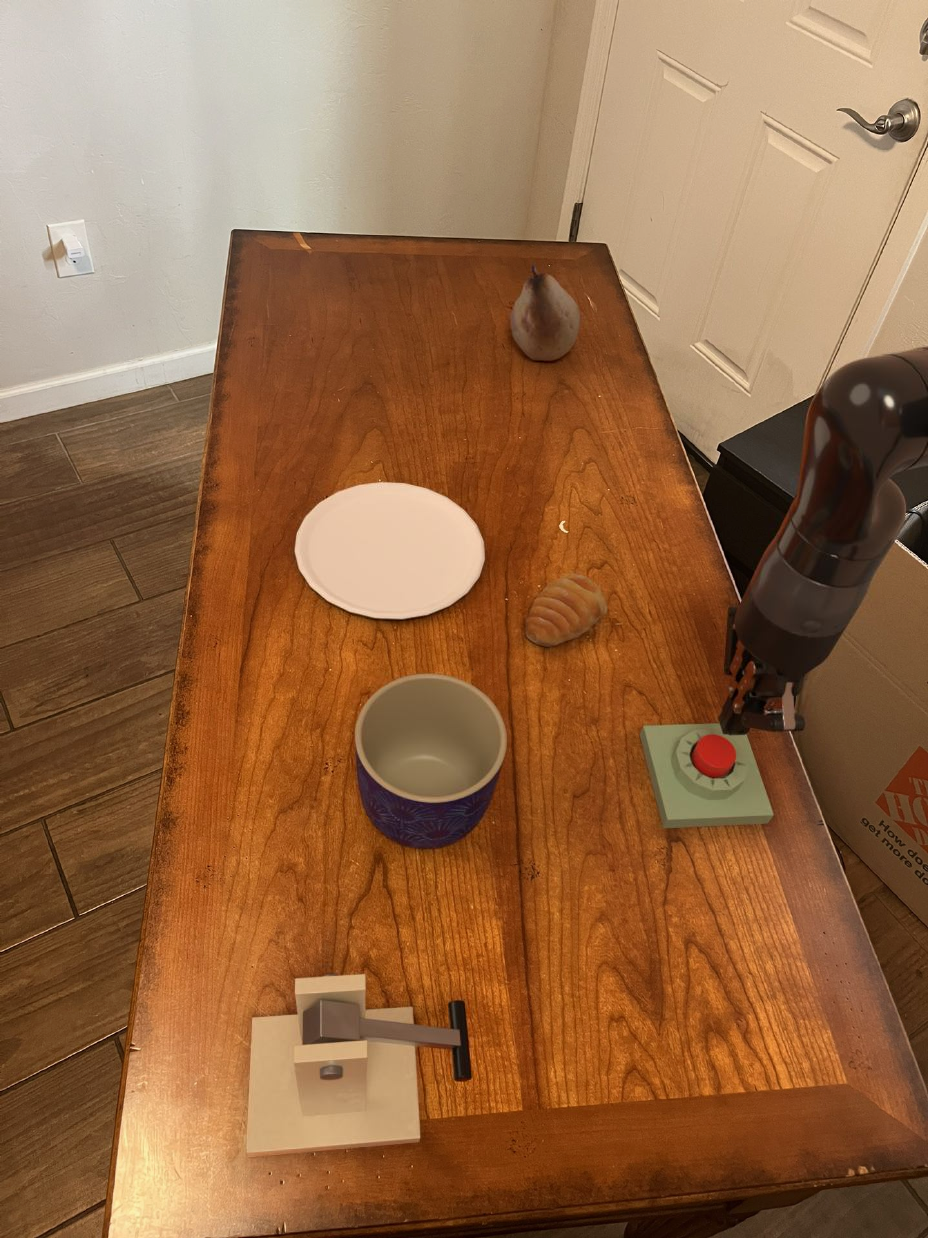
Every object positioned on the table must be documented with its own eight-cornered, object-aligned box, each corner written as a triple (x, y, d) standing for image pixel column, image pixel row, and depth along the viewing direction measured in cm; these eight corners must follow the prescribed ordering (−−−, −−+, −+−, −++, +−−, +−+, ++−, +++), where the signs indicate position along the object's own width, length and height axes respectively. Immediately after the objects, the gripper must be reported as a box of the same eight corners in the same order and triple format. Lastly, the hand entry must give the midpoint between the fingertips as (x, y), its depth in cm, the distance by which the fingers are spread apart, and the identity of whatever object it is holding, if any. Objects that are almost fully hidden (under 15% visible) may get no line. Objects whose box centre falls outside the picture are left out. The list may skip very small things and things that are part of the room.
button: (735, 777, 85) (741, 767, 84) (697, 778, 85) (702, 768, 84) (724, 743, 88) (730, 733, 86) (687, 744, 87) (692, 734, 86)
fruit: (503, 328, 134) (514, 249, 125) (567, 329, 135) (583, 251, 126) (512, 371, 128) (524, 291, 119) (580, 372, 129) (597, 293, 120)
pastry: (558, 664, 96) (565, 641, 93) (507, 629, 98) (511, 605, 95) (609, 614, 101) (616, 590, 98) (558, 582, 103) (564, 557, 101)
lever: (453, 1009, 67) (473, 998, 65) (459, 1085, 64) (480, 1075, 62) (302, 989, 61) (320, 976, 59) (301, 1072, 58) (320, 1061, 56)
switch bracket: (412, 1012, 73) (422, 939, 61) (419, 1142, 67) (433, 1088, 56) (253, 1023, 71) (235, 950, 60) (247, 1157, 65) (225, 1105, 54)
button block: (767, 824, 86) (781, 805, 84) (662, 828, 85) (672, 809, 82) (737, 731, 93) (748, 711, 90) (639, 735, 91) (647, 714, 89)
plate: (254, 559, 101) (253, 551, 100) (377, 464, 113) (377, 456, 112) (406, 658, 95) (406, 650, 94) (520, 545, 106) (521, 538, 105)
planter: (404, 891, 79) (410, 830, 71) (328, 782, 85) (325, 714, 77) (519, 818, 84) (538, 753, 76) (440, 720, 90) (449, 650, 82)
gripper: (885, 665, 65) (796, 792, 78) (820, 530, 73) (749, 666, 87) (782, 667, 64) (709, 796, 77) (728, 531, 72) (671, 667, 86)
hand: (730, 727), depth 82 cm, fingers closed
